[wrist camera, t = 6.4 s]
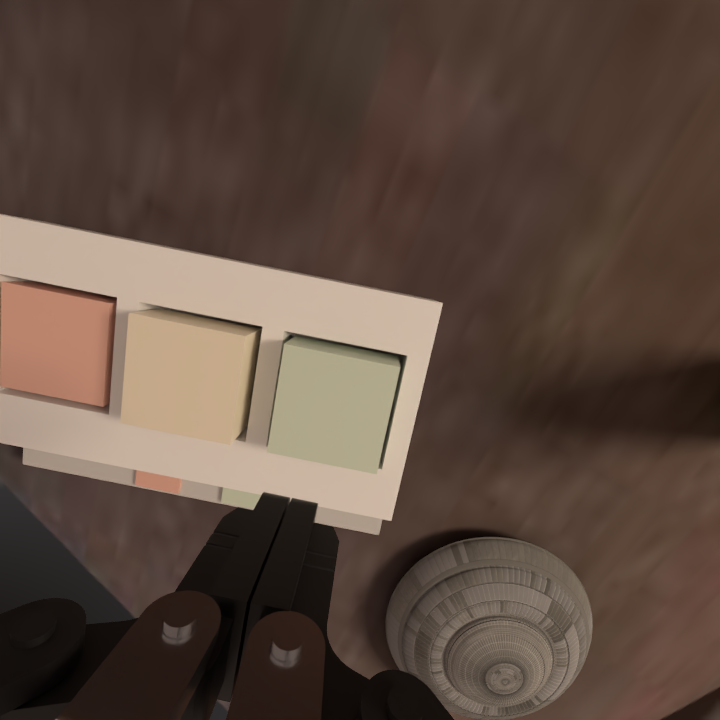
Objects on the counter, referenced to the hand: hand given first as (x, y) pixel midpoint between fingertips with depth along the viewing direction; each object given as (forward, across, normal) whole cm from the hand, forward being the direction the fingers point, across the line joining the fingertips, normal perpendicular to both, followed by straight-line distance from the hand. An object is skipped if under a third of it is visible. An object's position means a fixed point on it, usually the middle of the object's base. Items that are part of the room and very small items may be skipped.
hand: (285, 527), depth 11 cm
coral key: (+15, +16, 0) cm, 22 cm away
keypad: (+17, +8, +2) cm, 18 cm away
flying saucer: (+17, -14, +16) cm, 28 cm away
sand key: (+13, +8, 0) cm, 15 cm away
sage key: (+13, 0, 0) cm, 13 cm away
